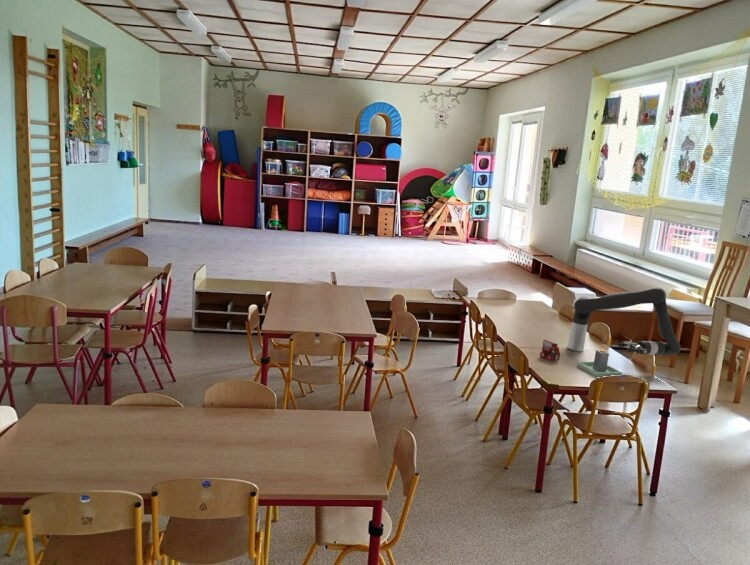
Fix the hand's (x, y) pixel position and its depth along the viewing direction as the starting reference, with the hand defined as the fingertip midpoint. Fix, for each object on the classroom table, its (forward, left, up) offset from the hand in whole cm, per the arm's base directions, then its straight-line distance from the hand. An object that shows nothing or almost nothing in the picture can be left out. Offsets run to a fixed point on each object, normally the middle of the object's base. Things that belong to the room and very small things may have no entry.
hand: (623, 347), depth 341 cm
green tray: (+1, -14, -14) cm, 20 cm away
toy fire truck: (-21, -32, -15) cm, 41 cm away
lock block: (+1, -14, -13) cm, 19 cm away
